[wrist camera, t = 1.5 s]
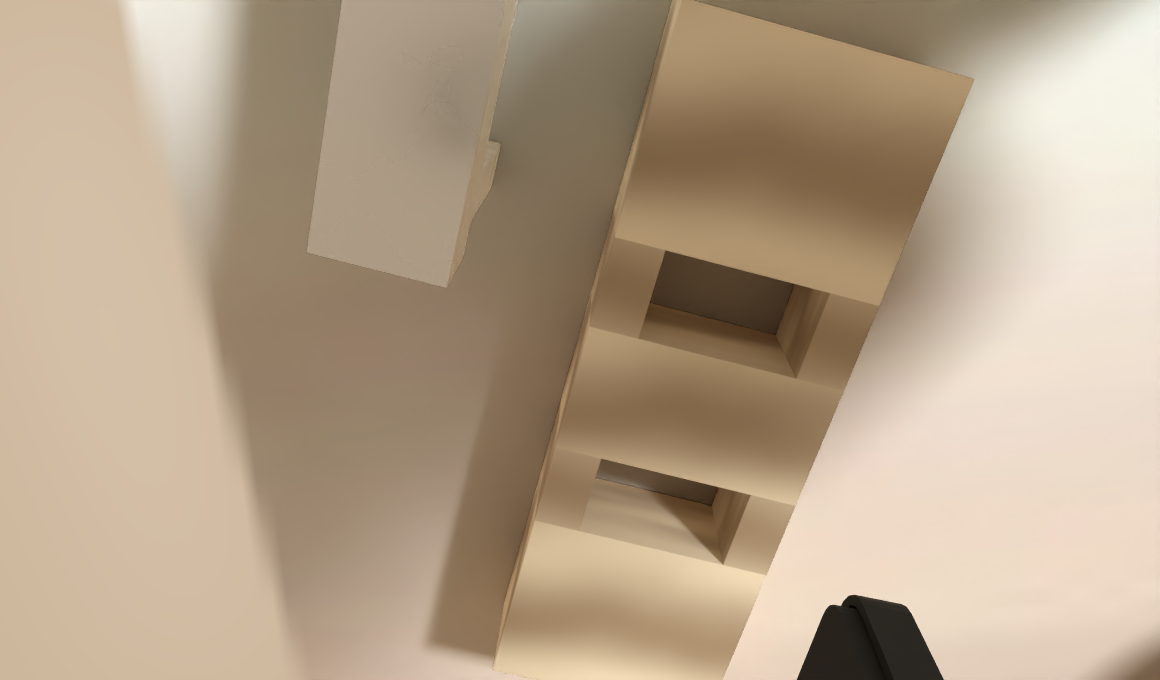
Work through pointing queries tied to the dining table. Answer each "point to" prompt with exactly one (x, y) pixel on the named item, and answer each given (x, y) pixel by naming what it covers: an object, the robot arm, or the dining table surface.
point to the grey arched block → (409, 133)
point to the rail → (718, 340)
